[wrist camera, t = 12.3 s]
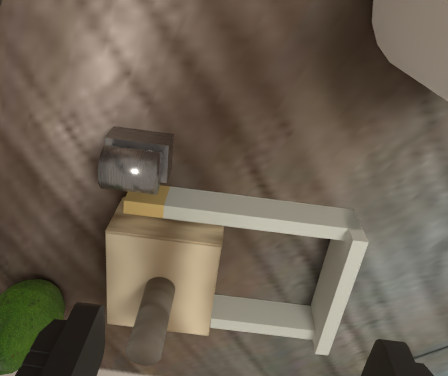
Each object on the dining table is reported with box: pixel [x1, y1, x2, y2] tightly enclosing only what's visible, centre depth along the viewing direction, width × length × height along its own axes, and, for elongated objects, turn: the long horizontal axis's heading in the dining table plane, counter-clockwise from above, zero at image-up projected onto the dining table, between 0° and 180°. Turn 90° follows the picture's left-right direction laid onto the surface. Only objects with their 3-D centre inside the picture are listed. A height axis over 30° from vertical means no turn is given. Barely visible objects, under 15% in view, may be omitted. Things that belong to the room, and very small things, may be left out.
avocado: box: [0, 279, 65, 375], centre depth 47 cm, size 8×8×12 cm
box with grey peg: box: [105, 197, 224, 365], centre depth 41 cm, size 11×12×15 cm
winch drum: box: [98, 127, 174, 195], centre depth 39 cm, size 6×4×7 cm, turn 83°
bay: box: [123, 185, 369, 355], centre depth 46 cm, size 24×16×6 cm, turn 83°
